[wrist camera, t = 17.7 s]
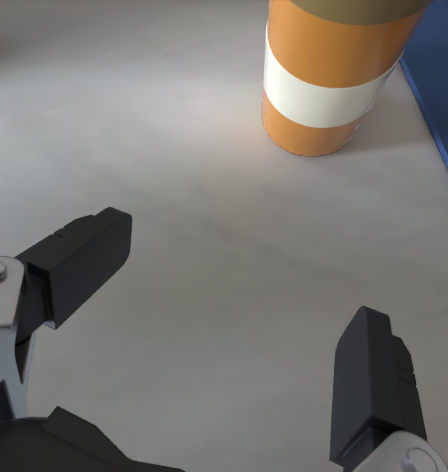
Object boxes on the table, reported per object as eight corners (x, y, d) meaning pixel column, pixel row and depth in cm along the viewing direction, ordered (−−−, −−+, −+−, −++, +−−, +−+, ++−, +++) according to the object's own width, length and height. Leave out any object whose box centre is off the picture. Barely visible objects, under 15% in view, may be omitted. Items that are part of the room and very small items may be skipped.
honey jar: (273, 172, 18) (301, 11, 9) (247, 83, 20) (245, -139, 10) (378, 145, 18) (526, -47, 9) (343, 58, 20) (436, -190, 10)
